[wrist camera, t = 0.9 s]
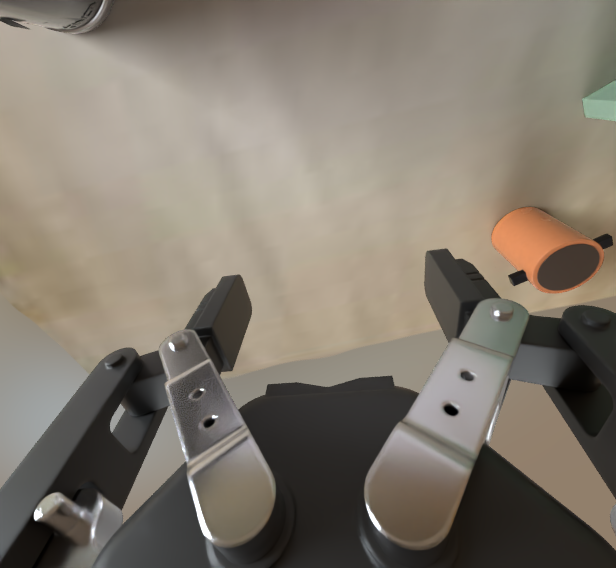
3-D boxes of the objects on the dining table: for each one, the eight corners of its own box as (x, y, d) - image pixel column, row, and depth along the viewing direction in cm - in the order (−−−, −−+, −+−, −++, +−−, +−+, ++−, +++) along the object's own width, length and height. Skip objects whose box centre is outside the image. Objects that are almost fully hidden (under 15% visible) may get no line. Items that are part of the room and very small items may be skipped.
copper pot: (473, 230, 31) (510, 266, 25) (555, 189, 29) (620, 219, 22) (487, 266, 34) (525, 308, 27) (564, 232, 31) (625, 270, 25)
